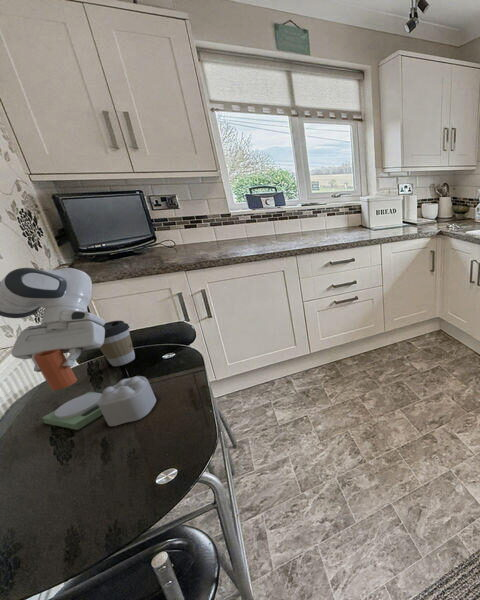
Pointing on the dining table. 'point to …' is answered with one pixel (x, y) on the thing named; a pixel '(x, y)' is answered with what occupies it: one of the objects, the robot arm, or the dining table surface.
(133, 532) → the dining table surface
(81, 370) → the dining table surface
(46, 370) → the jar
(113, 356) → the coffee cup
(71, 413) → the scale
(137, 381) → the lumpy-topped squat cylinder
